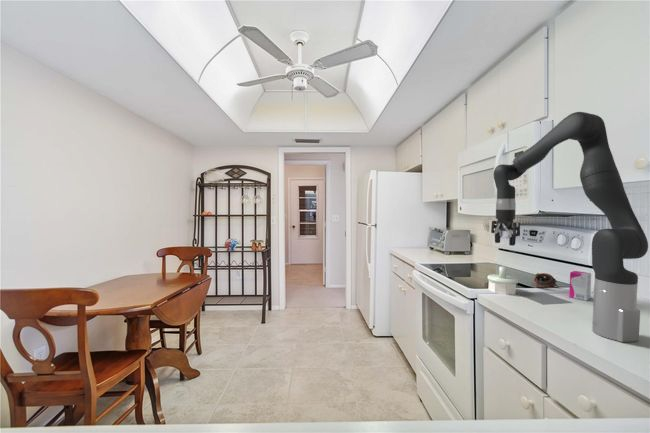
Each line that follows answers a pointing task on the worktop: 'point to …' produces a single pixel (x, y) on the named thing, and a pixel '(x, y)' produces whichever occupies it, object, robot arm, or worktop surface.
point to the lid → (502, 277)
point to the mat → (543, 298)
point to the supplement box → (580, 285)
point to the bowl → (502, 288)
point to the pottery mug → (544, 280)
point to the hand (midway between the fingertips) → (504, 244)
